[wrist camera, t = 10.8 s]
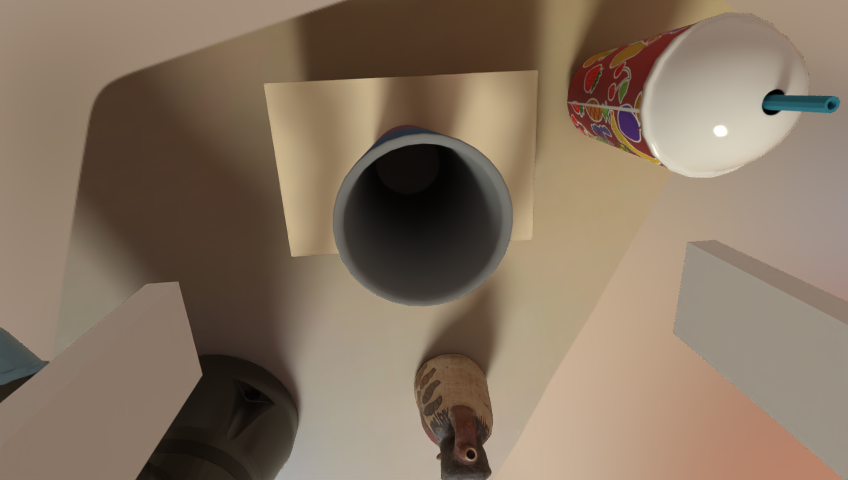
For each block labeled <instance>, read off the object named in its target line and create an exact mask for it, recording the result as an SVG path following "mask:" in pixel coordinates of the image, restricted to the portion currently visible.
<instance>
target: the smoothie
mask: <svg viewBox="0 0 848 480" xmlns="http://www.w3.org/2000/svg"><path fill="white" fill-rule="evenodd" d="M808 94H809V73H808V70H807V67H806V64H805V61H804V58H803V56H802V54H801V53H800V51H799V50H798V49H797V48H796V47H795V45H794V44H793V43H792V42H791V41H790V39H789V38H788V37H787V36H785V35H784V34H782V33H780V32H779V31H778V30H777V28H776V27H775V26H774V25H773V24H772V23H770V22H768V21H766V20H763V19H761V18H759V17H757V16H755V15H753V14H746V13H745V14H744V13H724V14H721V15H717V16H714V17H711V18H708V19H705V20H701V21H699V22H697V23H695V24H692V25H688V26H685V27H682V28H679V29H675V30H672V31H669V32H665V33H662V34H659V35H656V36H652V37H649V38H646V39H643V40H639V41H636V42H633V43H629V44H626V45H623V46H620V47H616V48H613V49H610V50H606V51H603V52H601V53H598V54H595V55H594V56H592V57H591V58H590V59H588V60H587V61H586V62H584V63H583V64H582V65H581V67H580V68H579V69H578V71H577V72H576V73H575V75H574V77H573V79H572V82H571V84H570V87H569V90H568V100H567V105H568V110H569V114H570V117H571V119H572V121H573V123H574V124H575V126H576V128H578V129H579V130H580V131H581V132H583V133H584V134H585V135H587V136H589V137H592V138H594V139H597V140H599V141H602V142H604V143H607V144H609V145H612V146H614V147H617V148H619V149H622V150H624V151H627V152H629V153H632V154H634V155H637V156H639V157H642V158H644V159H646V160H649V161H651V162H654V163H656V164H659V165H661V166H664V167H666V168H667V169H669V170H671V171H673V172H676V173H679V174H682V175H684V176H687V177H692V178H696V177H698V178H712V177H716V176H719V175H722V174H725V173H728V172H732V171H735V170H736V169H738V168H740V167H741V166H743V165H745V164H747V163H750V162H753V161H755V160H756V159H758V158H760V157H761V156H763V155H764V154H766V153H768V152H769V151H771V150H772V149H774V148H775V147H777V146H778V145H779V144H780V143H781V142H782V141H783V139H785V138H786V137H787V135H788V134H789V133H790V132H791V131H792V130H793V128H794V126H795V125H796V123H797V122H798V120H799V118H800V117H801V115H802V113H803V112H819V113H832V112H834V111H836V109H837V108H838V107H839V103H840V101H839V98H838V97H835V96H808Z"/></svg>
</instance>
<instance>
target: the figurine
mask: <svg viewBox="0 0 848 480" xmlns="http://www.w3.org/2000/svg"><path fill="white" fill-rule="evenodd" d="M414 394H415V399H416V403H417V406H418V408H419V412H420V417H421V422H422V426H423V428H424V430H425V432H426V434H427V435H428V437H429V438H430V439H431V440H432V441H433V442H434V443H435V444H436V445H438V446H439V447H440V451H441V453H440V454H438V455H437V460H438V461H441V479H442V480H486V479H487V478H488V477H489V476H490V475H491V469H490V467H489V464H488V460H487V456H486V453H485V450H484V448H483V446H482V445H483V444H484V443H485V442H486V441H487V440H488V438H489V437H490V435H491V432H492V426H493V417H492V409H491V402H490V398H489V392H488V386H487V381H486V378H485V376H484V374H483V372H482V370H481V369H480V368H479V366H478V365H477V364H476V363H475V362H474V361H472V360H471V359H469V358H468V357H466V356H463V355H460V354H444V355H439V356H436V357H434V358H432V359H430V360H429V361H427V362H426V363H424V364H423V366H422V367H421V369H420V370H419V372H418V374H417V376H416V378H415V383H414Z"/></svg>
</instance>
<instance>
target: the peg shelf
mask: <svg viewBox="0 0 848 480" xmlns="http://www.w3.org/2000/svg"><path fill="white" fill-rule="evenodd" d="M264 88H265V94H266V100H267V107H268V113H269V119H270V125H271V132H272V138H273V144H274V150H275V157H276V163H277V169H278V175H279V182H280V188H281V194H282V201H283V207H284V213H285V219H286V226H287V232H288V238H289V244H290V251H291V257H296V256H310V255H324V254H338V253H339V251H338V249H337V246H336V243H335V237H334V232H333V210H334V206H335V201H336V197H337V193H338V191H339V189H340V187H341V185H342V183H343V180H344V178H345V177H346V175H347V174H348V173H349V171H350V170H351V169H352V167H353V166H354V165H355V163H356V162H357V161H358V160H359V159H360V158H361V157H362V156H363V155H364V154H365V153H366V152H367V151H368V150H369V149H370V148H371V146H372V145H373V144H374V143H375V142H376V141H377V140H378V139H379V138H380V137H381V136H382V135H383V134H384V133H385V132H387V131H388V130H390V129H392V128H394V127H397V126H401V125H414V126H418V127H421V128H424V129H427V130H431V131H434V132H437V133H440V134H444V135H447V136H450V137H453V138H456V139H460V140H462V141H463V142H465V143H467V144H469V145H471V146H473V147H475V148H476V149H478V150H479V151H480V152H481V153H482V154H484V155H485V156H486V157H487V158H488V159H489V160H490V161H491V162H492V163H493V165H494V166H495V167H496V168H497V170H498V171H499V172H500V173H501V175H502V177H503V179H504V182H505V184H506V186H507V188H508V190H509V194H510V198H511V202H512V208H513V226H512V233H511V239H510V241H518V240H532V226H533V199H534V171H535V144H536V117H537V89H538V70H529V71H508V72H488V73H468V74H448V75H427V76H407V77H387V78H366V79H346V80H326V81H306V82H285V83H265V84H264Z"/></svg>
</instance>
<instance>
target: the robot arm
mask: <svg viewBox="0 0 848 480" xmlns="http://www.w3.org/2000/svg"><path fill="white" fill-rule="evenodd" d="M673 333H674V334H675V335H676V336H677V337H678V338H680V339H681V340H682V341H683V342H684V343H685V344H687V345H688V346H689V347H690V348H691V349H692V350H694V351H695V352H696V353H697V354H698V355H699V356H701V357H702V358H703V359H704V360H705V361H706V362H708V363H709V364H710V365H711V366H712V367H713V368H715V369H716V370H717V371H718V372H719V373H720V374H721V375H723V376H724V377H725V378H726V379H727V380H729V381H730V382H731V383H732V384H733V385H734V386H735V387H737V388H738V389H739V390H740V391H741V392H742V393H744V394H745V395H746V396H747V397H748V398H749V399H751V400H752V401H753V402H754V403H755V404H756V405H758V406H759V407H760V408H761V409H762V410H763V411H765V412H766V413H767V414H768V415H769V416H770V417H772V418H773V419H774V420H775V421H776V422H777V423H779V424H780V425H781V426H782V427H783V428H784V429H785V430H787V431H788V432H789V433H790V434H792V436H794V437H795V438H796V439H797V440H798V441H800V442H801V443H802V444H803V445H804V446H805V447H807V448H808V449H809V450H810V451H811V452H813V454H815V455H816V456H817V457H818V458H819V459H821V460H822V461H823V462H824V463H825V464H826V465H828V466H829V467H830V468H831V469H832V470H833V471H834V472H836V473H837V474H838V475H839V476H840V477H841V478H843V479H844V480H848V302H847V301H845V300H843V299H840V298H838V297H836V296H834V295H832V294H830V293H828V292H825V291H823V290H821V289H819V288H817V287H815V286H813V285H810V284H808V283H806V282H804V281H802V280H800V279H797V278H795V277H793V276H791V275H789V274H787V273H785V272H783V271H780V270H778V269H776V268H774V267H772V266H770V265H767V264H765V263H763V262H761V261H759V260H757V259H755V258H752V257H750V256H748V255H746V254H744V253H742V252H740V251H737V250H735V249H733V248H731V247H729V246H727V245H725V244H722V243H720V242H718V241H716V240H710V241H696V242H688V243H687V248H686V254H685V260H684V266H683V273H682V279H681V285H680V292H679V298H678V304H677V311H676V317H675V323H674V329H673ZM297 427H298V417H297V411H296V407H295V404H294V402H293V400H292V398H291V396H290V394H289V393H288V391H287V390H286V388H285V387H284V386H283V385H282V384H281V383H280V382H279V381H278V380H277V379H276V378H275V377H274V376H273V375H271V374H270V373H269V372H267V371H265V370H264V369H262V368H260V367H259V366H257V365H254V364H252V363H250V362H247V361H244V360H241V359H237V358H233V357H227V356H217V355H208V356H198V355H197V352H196V348H195V344H194V340H193V336H192V332H191V328H190V325H189V321H188V317H187V313H186V309H185V305H184V302H183V298H182V294H181V290H180V286H179V282H165V283H152V284H146V285H144V286H143V287H142V288H141V289H140V290H138V291H137V292H136V293H135V294H133V295H132V296H131V297H130V298H129V299H127V300H126V301H125V302H124V303H122V304H121V305H120V306H119V307H117V308H116V309H115V310H114V311H113V312H111V313H110V314H109V315H108V316H106V317H105V318H104V319H103V320H102V321H100V322H99V323H98V324H97V325H95V326H94V327H93V328H92V329H91V330H89V331H88V332H87V333H86V334H84V335H83V336H82V337H81V338H80V339H78V340H77V341H76V342H75V343H73V344H72V345H71V346H70V347H68V348H67V349H66V350H65V351H64V352H62V353H61V354H60V355H59V356H57V357H56V358H55V359H54V360H53V361H51V362H49V361H42V360H41V359H39V358H38V357H37V356H36V355H35V354H34V353H32V352H31V351H30V350H29V349H28V348H26V347H25V346H24V345H23V344H22V343H20V342H19V341H18V340H17V339H16V338H14V337H13V336H12V335H11V334H10V333H9V332H7V331H6V330H4V329H2V328H1V327H0V480H274V479H275V477H276V476H277V475H278V473H279V472H280V471H281V470H282V468H283V467H284V465H285V464H286V462H287V460H288V458H289V456H290V454H291V451H292V448H293V444H294V441H295V437H296V433H297Z"/></svg>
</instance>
